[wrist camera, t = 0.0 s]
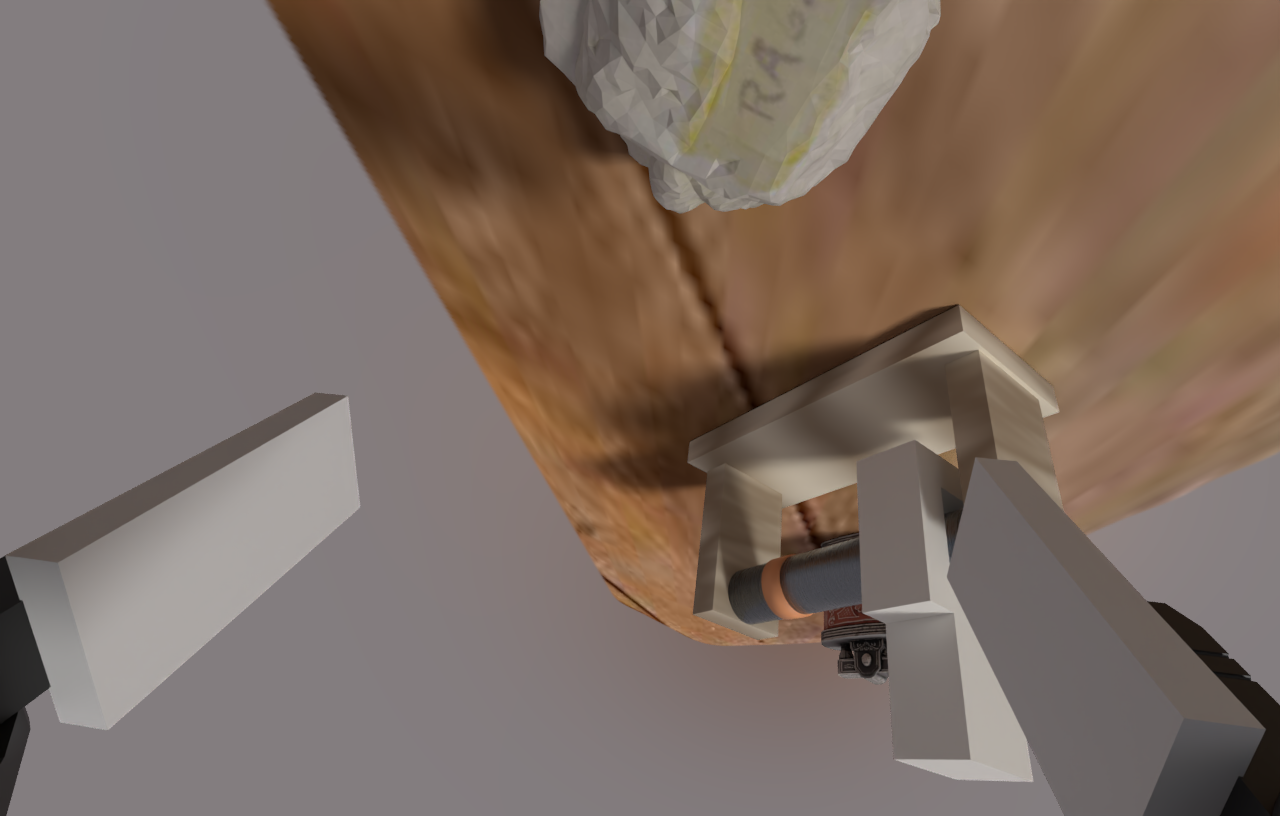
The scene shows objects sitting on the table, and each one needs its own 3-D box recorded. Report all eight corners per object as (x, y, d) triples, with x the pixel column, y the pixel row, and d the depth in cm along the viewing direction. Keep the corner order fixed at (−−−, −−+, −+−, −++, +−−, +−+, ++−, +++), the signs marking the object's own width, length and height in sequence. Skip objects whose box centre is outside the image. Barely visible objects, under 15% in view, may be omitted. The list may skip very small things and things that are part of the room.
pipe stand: (959, 304, 29) (994, 528, 23) (1053, 386, 33) (1104, 598, 27) (689, 441, 42) (669, 608, 36) (778, 490, 45) (772, 649, 40)
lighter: (834, 557, 53) (836, 689, 48) (812, 541, 51) (811, 676, 46) (935, 540, 48) (950, 686, 43) (914, 522, 46) (928, 671, 41)
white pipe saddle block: (914, 439, 28) (944, 750, 22) (1004, 500, 31) (1054, 789, 25) (856, 461, 31) (867, 750, 24) (945, 516, 34) (977, 786, 27)
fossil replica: (613, 145, 25) (891, 93, 23) (597, 319, 21) (935, 277, 19) (467, -289, 15) (932, -461, 13) (379, -123, 11) (1046, -332, 9)
